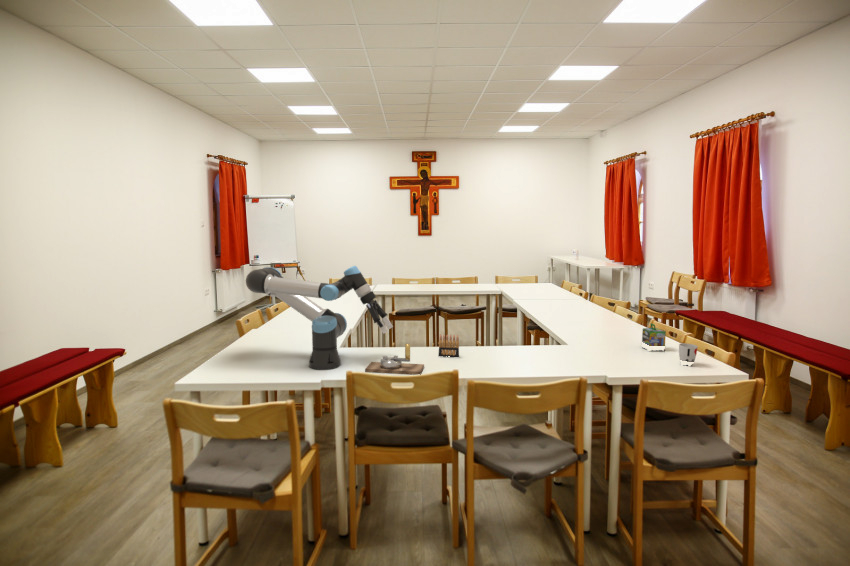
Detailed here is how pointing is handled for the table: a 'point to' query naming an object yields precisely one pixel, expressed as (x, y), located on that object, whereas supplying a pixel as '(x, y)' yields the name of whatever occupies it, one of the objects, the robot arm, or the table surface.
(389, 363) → the silver teapot
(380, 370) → the base plate
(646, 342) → the lunch box
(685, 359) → the cup
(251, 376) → the table surface
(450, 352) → the ammunition clip
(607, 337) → the table surface
